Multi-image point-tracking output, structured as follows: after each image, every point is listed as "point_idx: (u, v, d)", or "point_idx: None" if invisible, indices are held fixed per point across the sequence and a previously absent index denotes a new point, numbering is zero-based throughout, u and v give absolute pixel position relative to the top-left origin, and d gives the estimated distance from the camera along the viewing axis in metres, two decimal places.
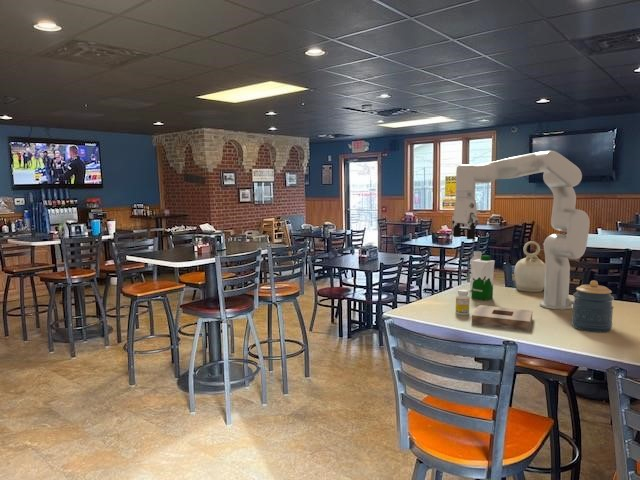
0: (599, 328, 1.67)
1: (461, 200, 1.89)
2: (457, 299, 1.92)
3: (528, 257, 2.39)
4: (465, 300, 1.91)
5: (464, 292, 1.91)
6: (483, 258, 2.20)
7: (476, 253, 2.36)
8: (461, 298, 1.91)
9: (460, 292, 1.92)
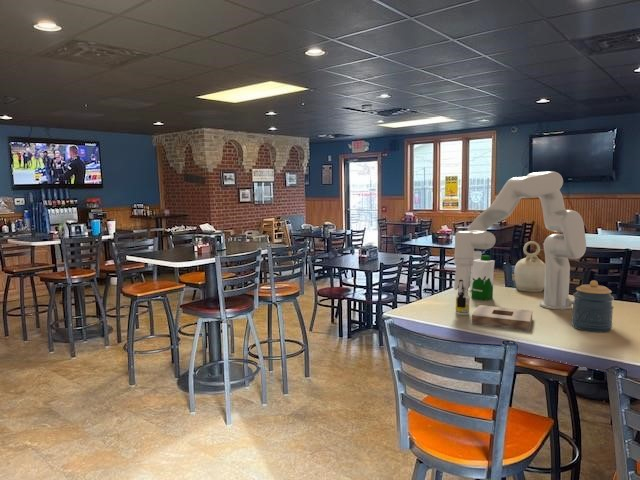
0: (599, 328, 1.67)
1: (470, 266, 1.92)
2: None
3: (528, 257, 2.39)
4: None
5: None
6: (483, 258, 2.20)
7: (476, 253, 2.36)
8: None
9: None
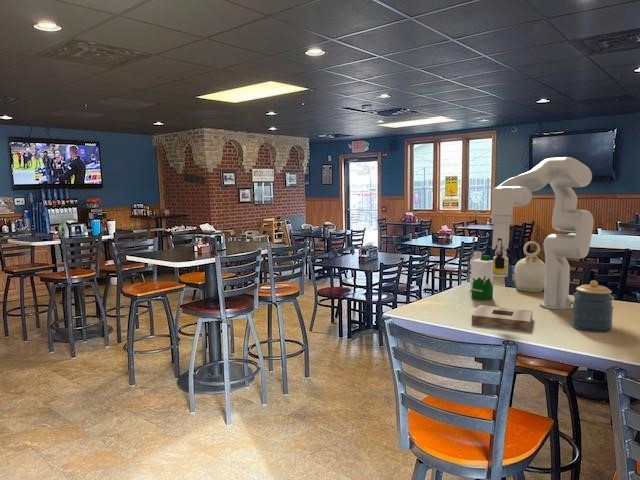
0: (599, 328, 1.67)
1: None
2: None
3: (528, 257, 2.39)
4: None
5: None
6: (483, 258, 2.20)
7: (476, 253, 2.36)
8: None
9: None
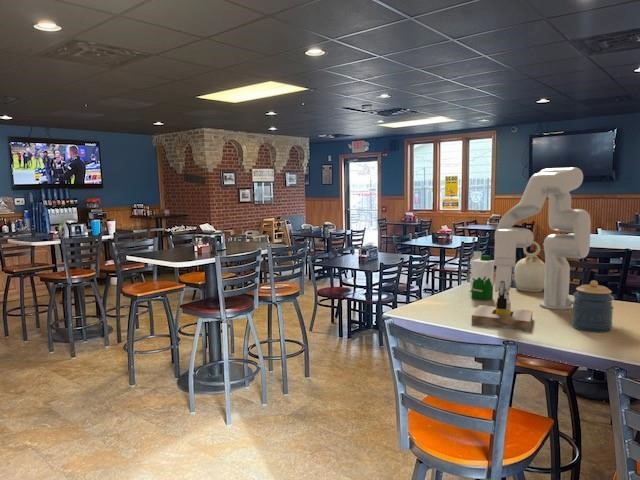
0: (599, 328, 1.67)
1: None
2: None
3: (528, 257, 2.39)
4: (506, 304, 1.78)
5: None
6: (483, 258, 2.20)
7: (476, 253, 2.36)
8: None
9: None
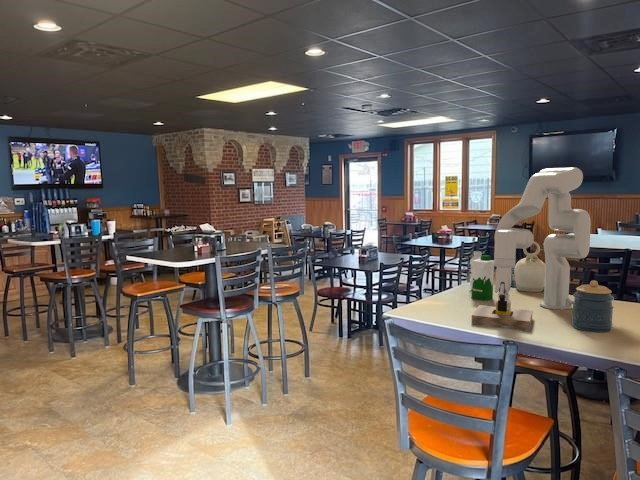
0: (599, 328, 1.67)
1: None
2: None
3: (528, 257, 2.39)
4: None
5: None
6: (483, 258, 2.20)
7: (476, 253, 2.36)
8: None
9: None
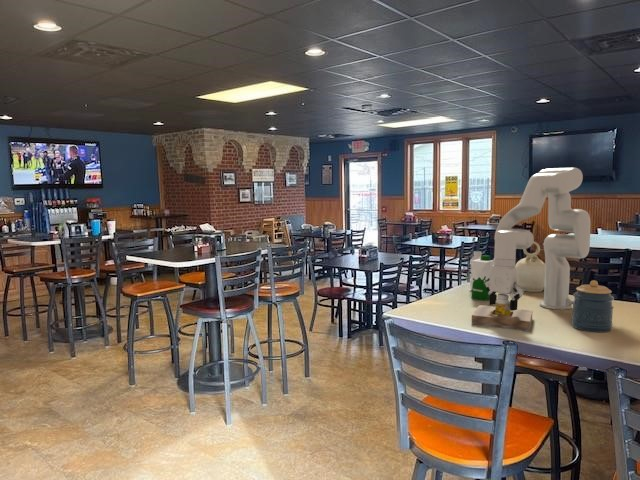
0: (599, 328, 1.67)
1: None
2: (504, 305, 1.78)
3: (528, 257, 2.39)
4: None
5: (508, 296, 1.79)
6: (483, 258, 2.20)
7: (476, 253, 2.36)
8: (508, 303, 1.78)
9: (506, 297, 1.79)
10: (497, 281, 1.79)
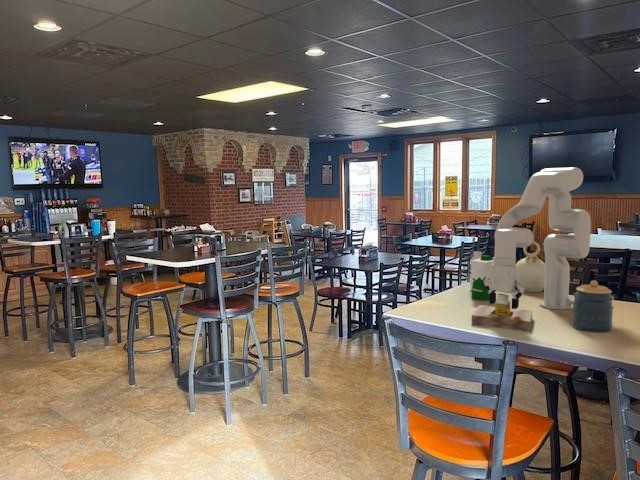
0: (599, 328, 1.67)
1: None
2: (509, 304, 1.79)
3: (528, 257, 2.39)
4: None
5: None
6: (483, 258, 2.20)
7: (476, 253, 2.36)
8: None
9: (508, 296, 1.80)
10: (498, 280, 1.79)
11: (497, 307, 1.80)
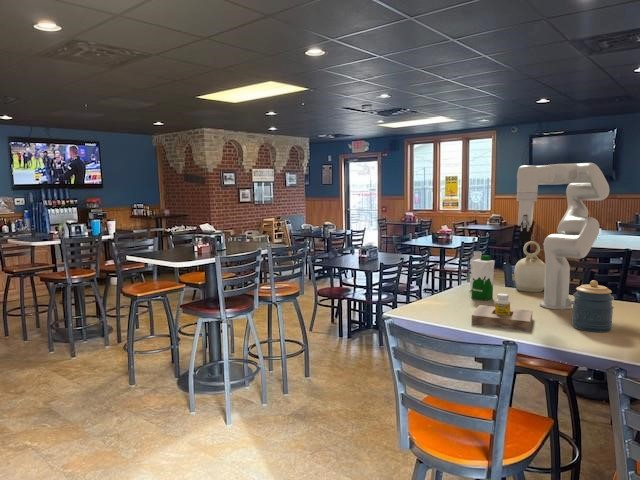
0: (599, 328, 1.67)
1: None
2: (509, 304, 1.79)
3: (528, 257, 2.39)
4: None
5: None
6: (483, 258, 2.20)
7: (476, 253, 2.36)
8: None
9: (508, 296, 1.80)
10: None
11: (497, 307, 1.80)
